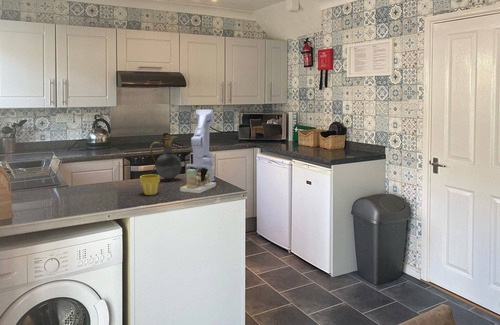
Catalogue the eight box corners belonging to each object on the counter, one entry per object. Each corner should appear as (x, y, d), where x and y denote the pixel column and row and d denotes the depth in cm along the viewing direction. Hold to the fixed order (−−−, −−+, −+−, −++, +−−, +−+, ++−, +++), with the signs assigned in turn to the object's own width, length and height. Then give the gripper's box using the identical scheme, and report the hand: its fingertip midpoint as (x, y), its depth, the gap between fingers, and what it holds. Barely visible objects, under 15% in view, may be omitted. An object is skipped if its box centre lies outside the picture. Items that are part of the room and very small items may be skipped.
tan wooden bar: (202, 181, 252) (202, 171, 251) (210, 182, 250) (209, 172, 249) (186, 187, 235) (186, 177, 234) (194, 188, 233) (194, 178, 232)
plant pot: (139, 192, 233) (138, 174, 232) (158, 190, 237) (158, 173, 236) (141, 196, 224) (141, 178, 222) (161, 195, 228) (161, 177, 226)
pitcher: (184, 180, 264) (182, 132, 259) (153, 183, 255) (151, 133, 250) (178, 177, 274) (177, 131, 269) (149, 180, 265) (147, 132, 260)
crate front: (190, 176, 238) (189, 168, 237) (196, 176, 237) (196, 169, 236) (186, 177, 234) (186, 170, 234) (193, 177, 233) (192, 170, 232)
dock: (198, 184, 254) (198, 180, 254) (216, 185, 250) (216, 182, 249) (180, 191, 236) (180, 187, 236) (199, 193, 231) (199, 189, 231)
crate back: (202, 171, 250) (202, 165, 250) (208, 172, 249) (208, 165, 248) (199, 172, 247) (199, 166, 246) (205, 173, 245) (205, 166, 245)
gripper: (183, 157, 239) (183, 181, 241) (206, 159, 233) (206, 183, 236) (189, 155, 245) (190, 178, 248) (212, 157, 240) (212, 180, 242)
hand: (198, 180), depth 242 cm, fingers closed on tan wooden bar, 5 cm apart
